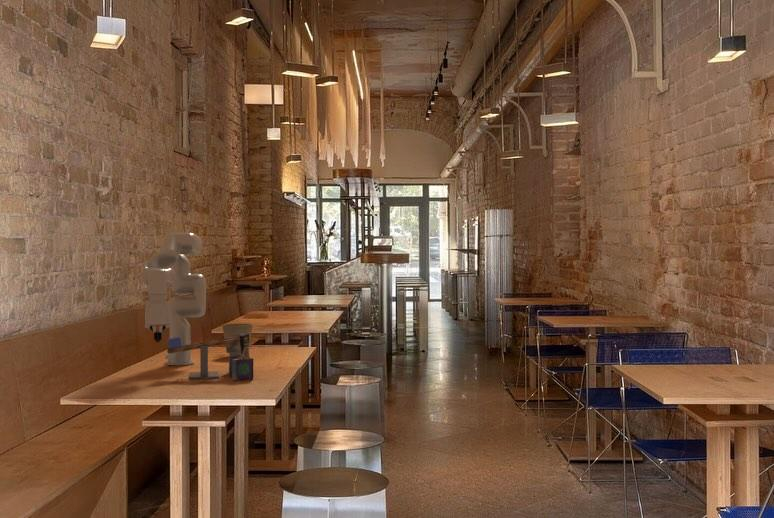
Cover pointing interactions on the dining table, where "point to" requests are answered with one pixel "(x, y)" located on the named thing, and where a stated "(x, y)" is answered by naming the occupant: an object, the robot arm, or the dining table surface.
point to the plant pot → (237, 329)
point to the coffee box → (241, 345)
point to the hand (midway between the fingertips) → (157, 341)
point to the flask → (242, 369)
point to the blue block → (175, 342)
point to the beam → (230, 343)
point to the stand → (204, 366)
